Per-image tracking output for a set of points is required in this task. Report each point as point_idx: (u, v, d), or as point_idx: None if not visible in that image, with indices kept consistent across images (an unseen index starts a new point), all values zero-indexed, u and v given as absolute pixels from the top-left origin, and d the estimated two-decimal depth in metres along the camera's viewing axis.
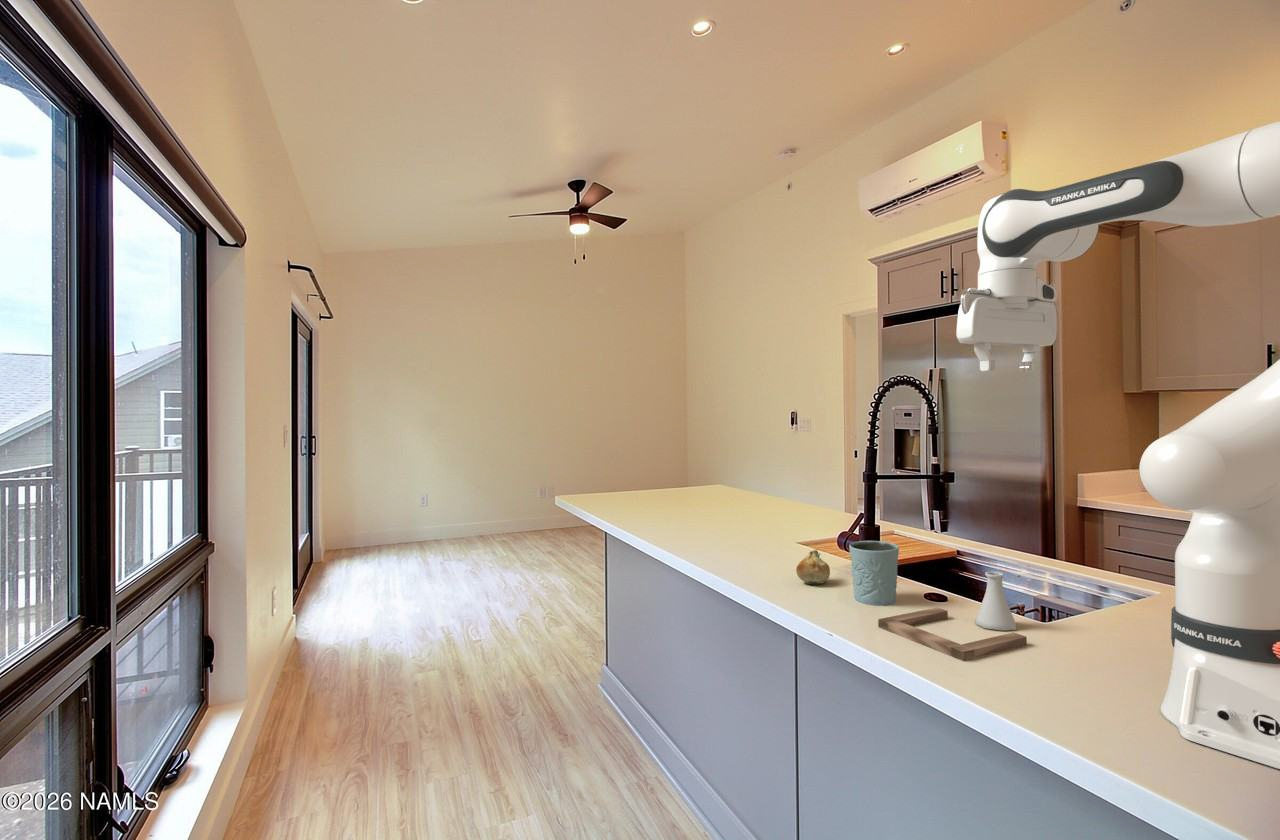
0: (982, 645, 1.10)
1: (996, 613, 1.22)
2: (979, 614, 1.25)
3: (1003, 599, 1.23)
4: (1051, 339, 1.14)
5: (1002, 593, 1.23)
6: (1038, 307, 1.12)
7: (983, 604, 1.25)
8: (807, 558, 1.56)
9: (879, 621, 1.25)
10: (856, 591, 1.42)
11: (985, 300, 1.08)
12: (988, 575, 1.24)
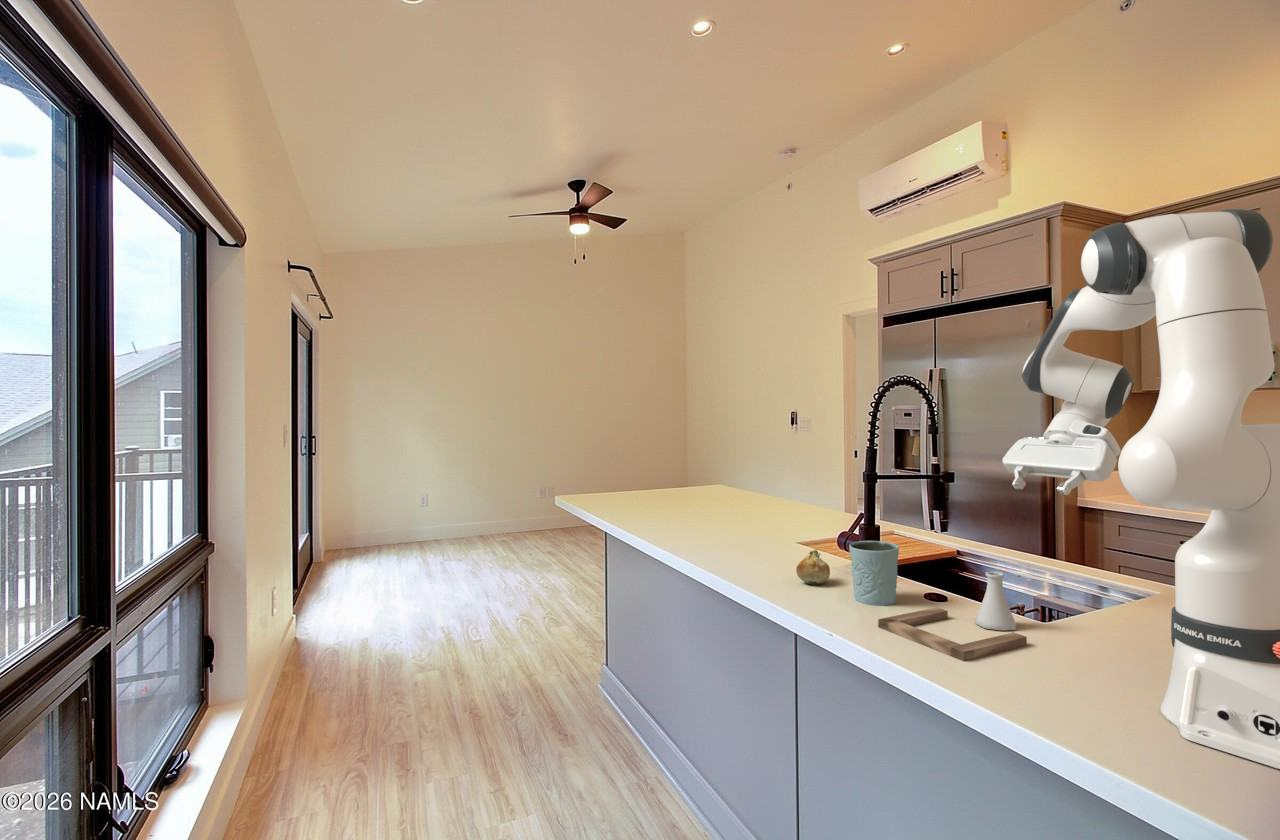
0: (982, 645, 1.10)
1: (997, 613, 1.22)
2: (979, 614, 1.25)
3: (1003, 599, 1.23)
4: (1092, 465, 1.23)
5: (1002, 593, 1.23)
6: (1080, 441, 1.28)
7: (983, 604, 1.25)
8: (807, 558, 1.56)
9: (879, 621, 1.25)
10: (856, 591, 1.42)
11: (1026, 439, 1.39)
12: (988, 575, 1.24)
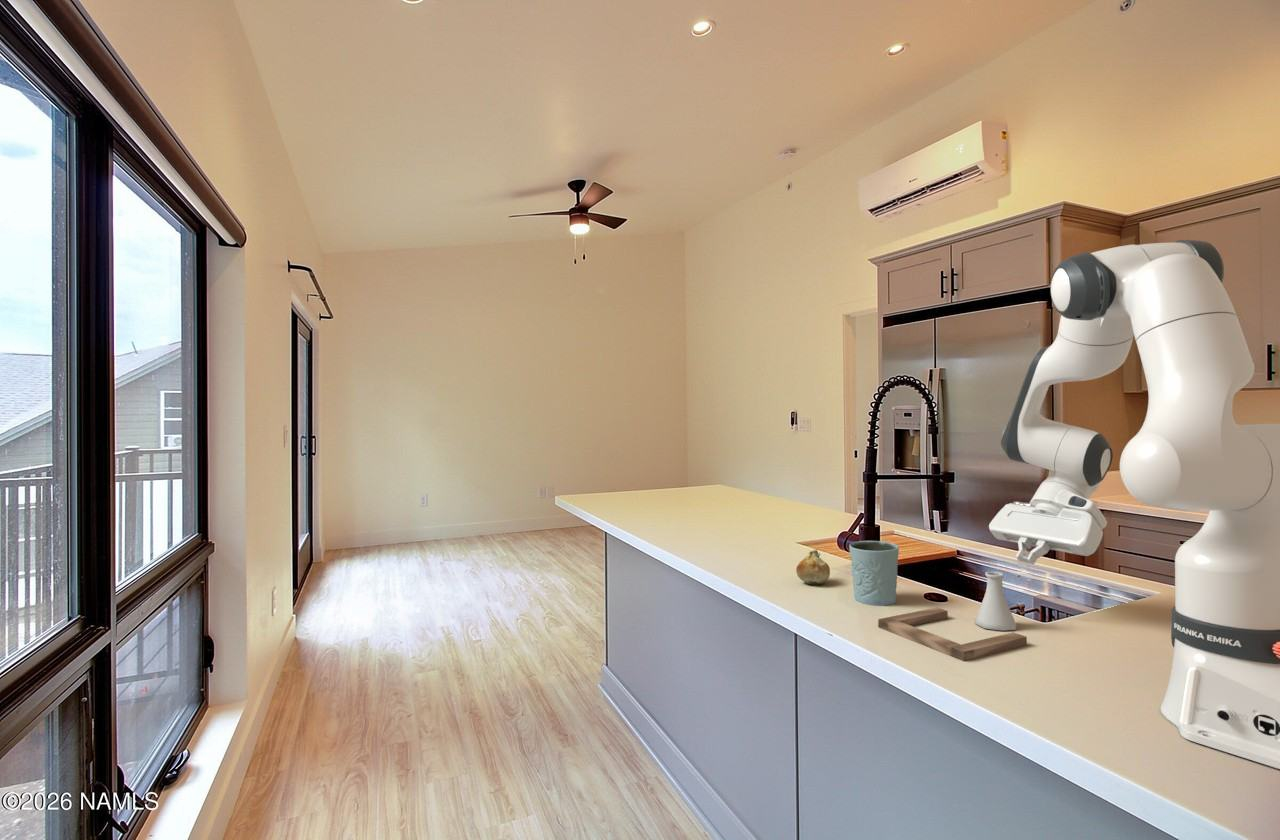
0: (982, 645, 1.10)
1: (997, 613, 1.22)
2: (979, 614, 1.25)
3: (1003, 599, 1.23)
4: (1077, 540, 1.21)
5: (1002, 593, 1.23)
6: (1066, 513, 1.26)
7: (983, 604, 1.25)
8: (807, 558, 1.56)
9: (879, 621, 1.25)
10: (856, 591, 1.42)
11: (1013, 505, 1.37)
12: (988, 575, 1.24)
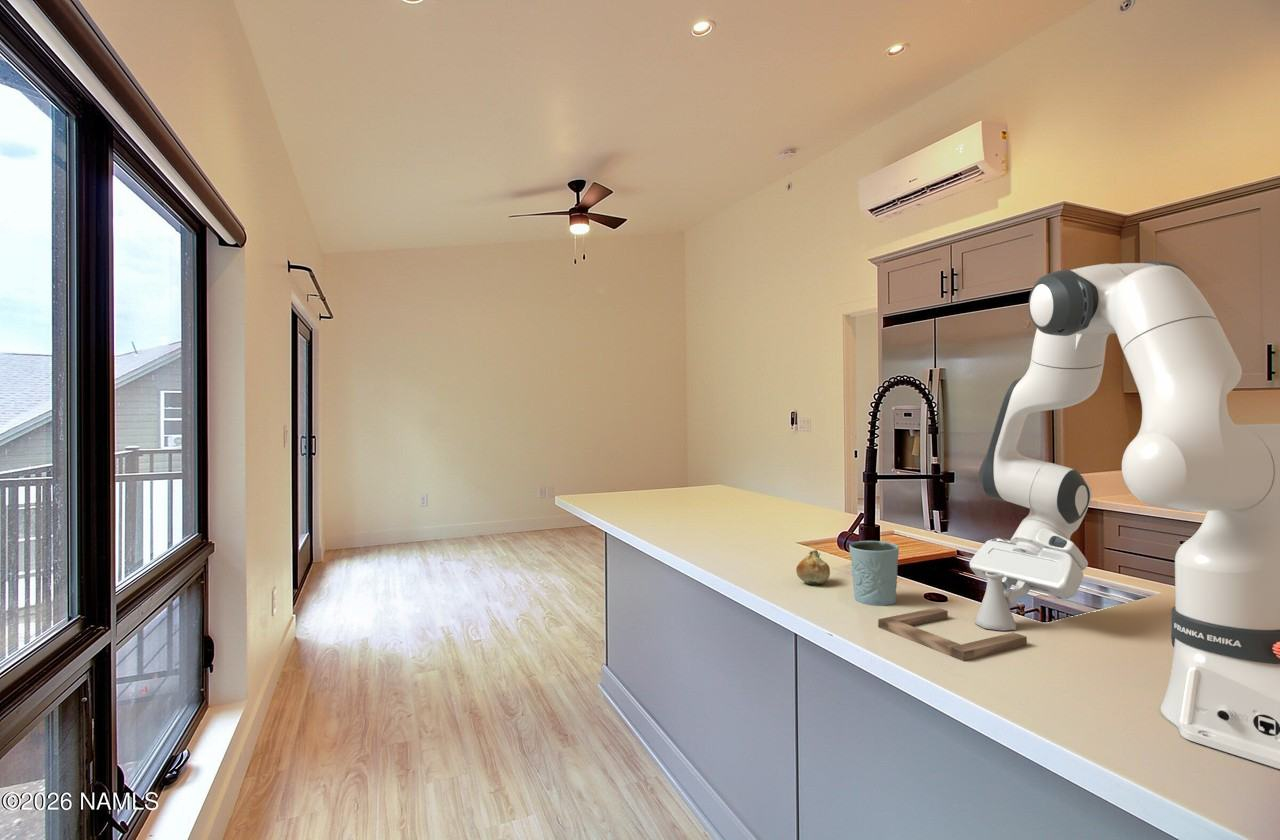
0: (982, 645, 1.10)
1: (996, 613, 1.22)
2: (979, 614, 1.25)
3: (1003, 599, 1.23)
4: (1056, 582, 1.19)
5: (1002, 593, 1.23)
6: (1046, 553, 1.24)
7: (983, 604, 1.25)
8: (807, 558, 1.56)
9: (879, 621, 1.25)
10: (856, 591, 1.42)
11: (994, 542, 1.34)
12: (988, 575, 1.24)
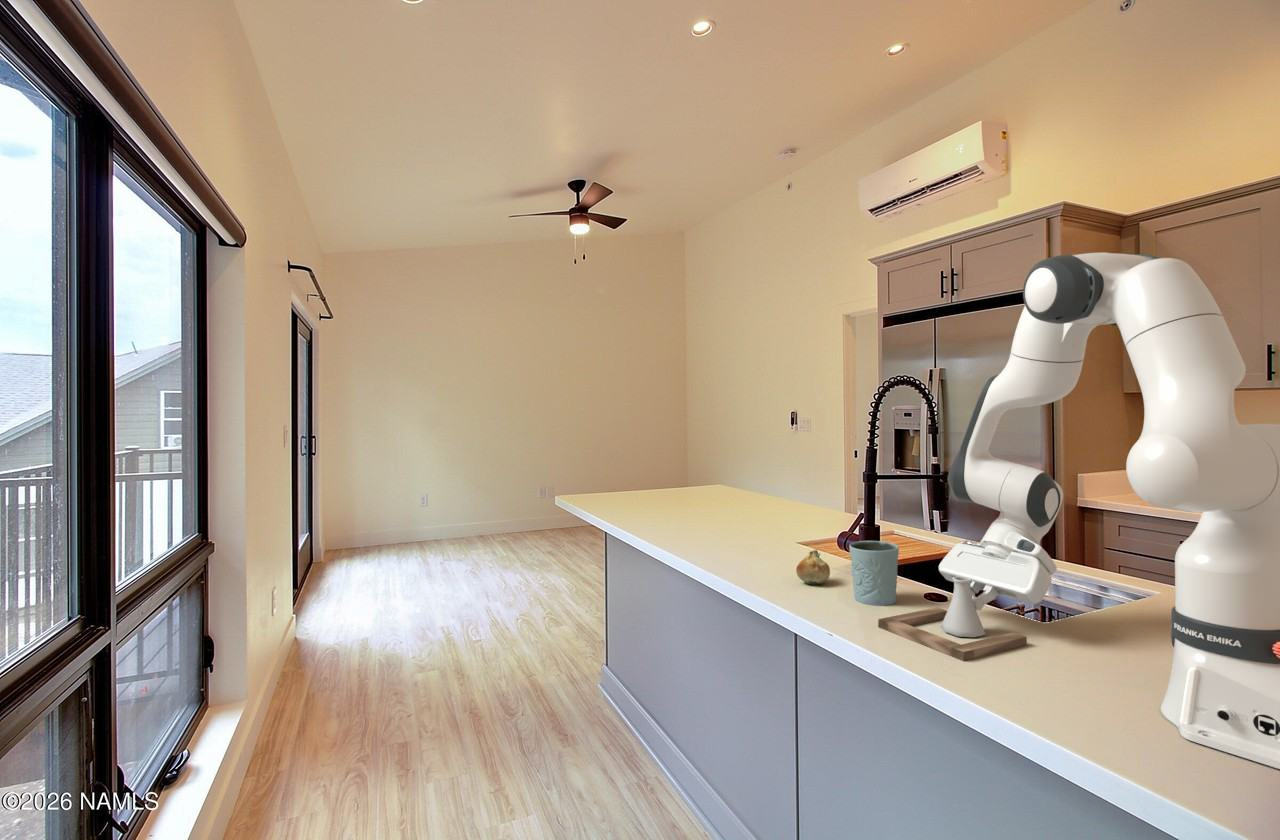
0: (982, 645, 1.10)
1: (968, 619, 1.19)
2: (949, 622, 1.21)
3: (972, 604, 1.20)
4: (1023, 588, 1.15)
5: (971, 598, 1.20)
6: (1014, 557, 1.20)
7: (952, 611, 1.21)
8: (807, 558, 1.56)
9: (879, 621, 1.25)
10: (856, 591, 1.42)
11: (963, 545, 1.31)
12: (958, 581, 1.20)
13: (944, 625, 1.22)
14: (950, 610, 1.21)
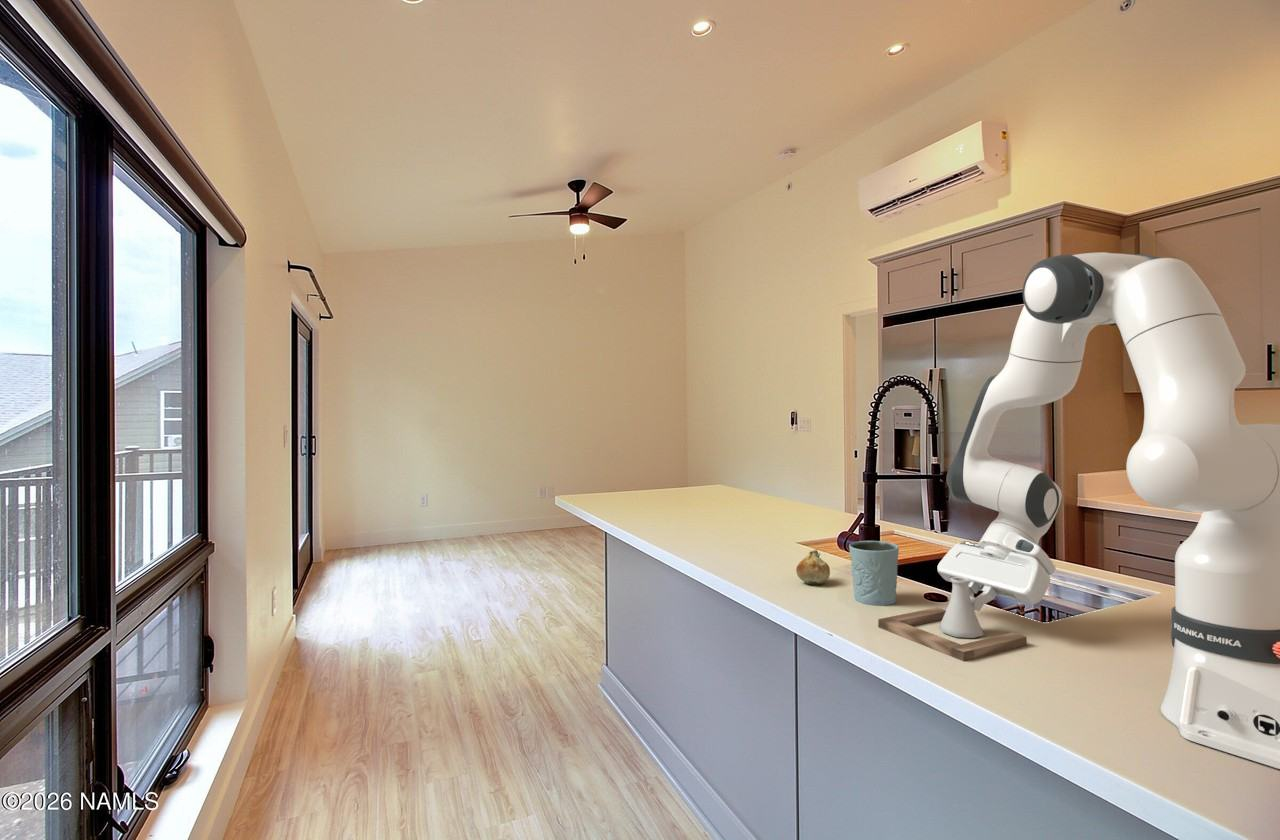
0: (982, 645, 1.10)
1: (966, 620, 1.19)
2: (947, 622, 1.21)
3: (970, 605, 1.20)
4: (1022, 588, 1.15)
5: (969, 599, 1.20)
6: (1013, 557, 1.20)
7: (951, 612, 1.21)
8: (807, 558, 1.56)
9: (879, 621, 1.25)
10: (856, 591, 1.42)
11: (962, 546, 1.31)
12: (956, 581, 1.20)
13: (942, 626, 1.22)
14: (948, 611, 1.21)
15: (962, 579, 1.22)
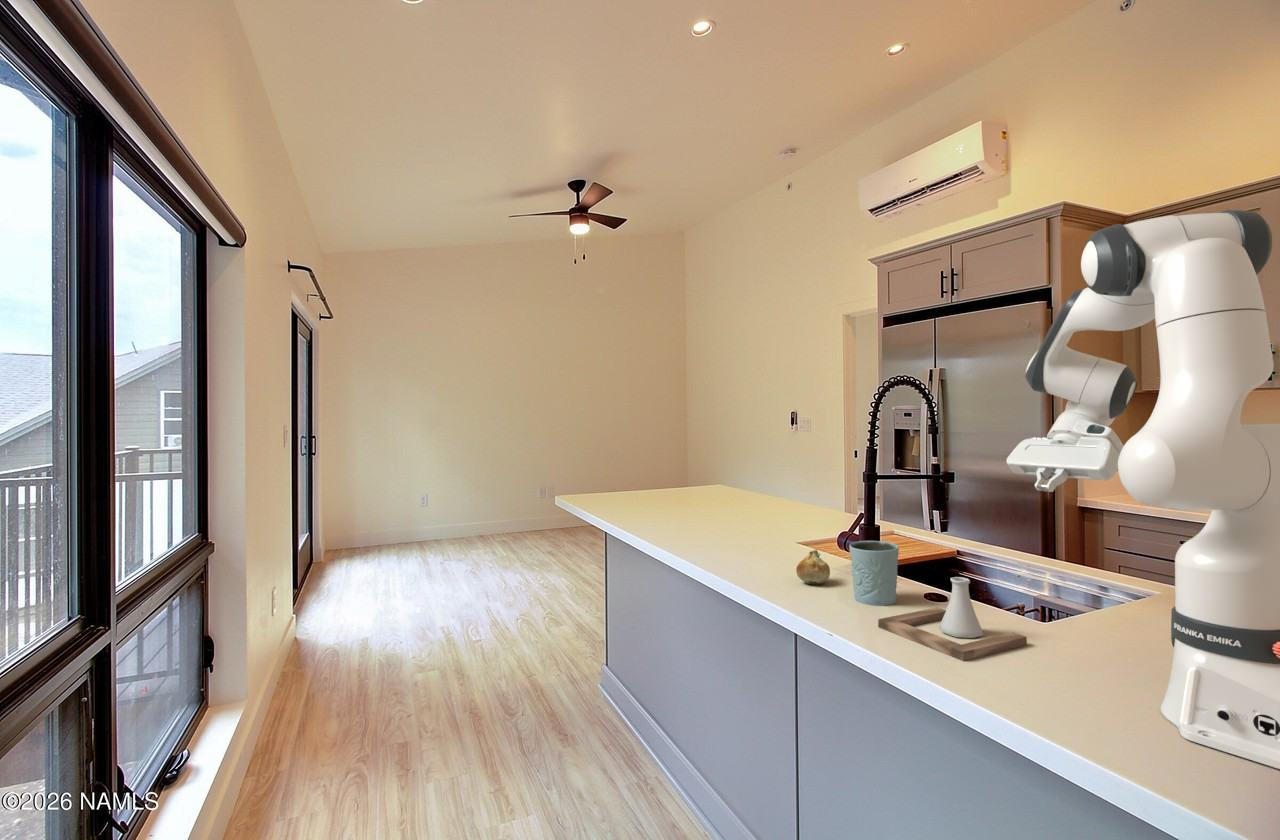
0: (982, 645, 1.10)
1: (966, 620, 1.19)
2: (947, 622, 1.21)
3: (970, 605, 1.20)
4: (1096, 464, 1.23)
5: (969, 599, 1.20)
6: (1084, 441, 1.28)
7: (950, 612, 1.21)
8: (807, 558, 1.56)
9: (879, 621, 1.25)
10: (856, 591, 1.42)
11: (1030, 440, 1.39)
12: (956, 581, 1.20)
13: (942, 626, 1.22)
14: (948, 611, 1.21)
15: (962, 579, 1.22)
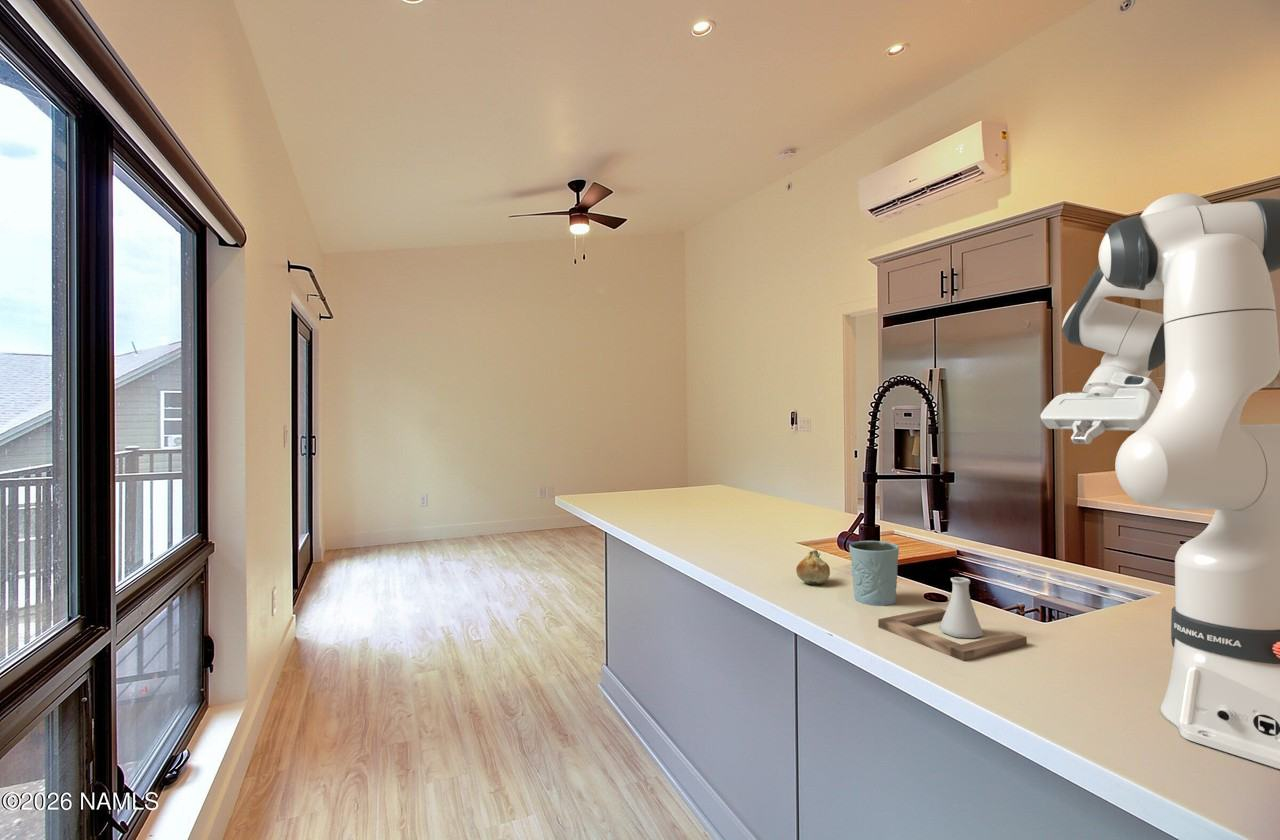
0: (982, 645, 1.10)
1: (966, 620, 1.19)
2: (947, 622, 1.21)
3: (970, 605, 1.20)
4: (1135, 414, 1.21)
5: (969, 599, 1.20)
6: (1122, 392, 1.26)
7: (951, 612, 1.21)
8: (807, 558, 1.56)
9: (879, 621, 1.25)
10: (856, 591, 1.42)
11: (1065, 394, 1.37)
12: (956, 581, 1.20)
13: (942, 626, 1.22)
14: (948, 611, 1.21)
15: (962, 579, 1.22)
